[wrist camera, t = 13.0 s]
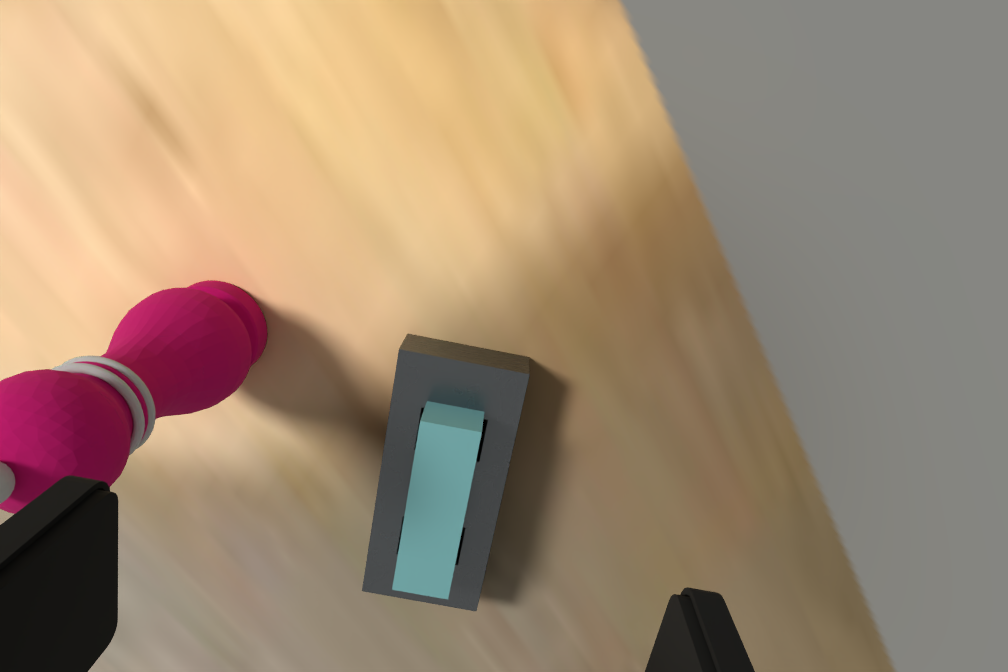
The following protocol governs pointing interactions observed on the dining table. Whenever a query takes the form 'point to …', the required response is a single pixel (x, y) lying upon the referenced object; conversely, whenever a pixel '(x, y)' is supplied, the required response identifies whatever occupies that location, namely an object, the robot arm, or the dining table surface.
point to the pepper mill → (125, 388)
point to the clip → (437, 499)
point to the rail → (500, 395)
